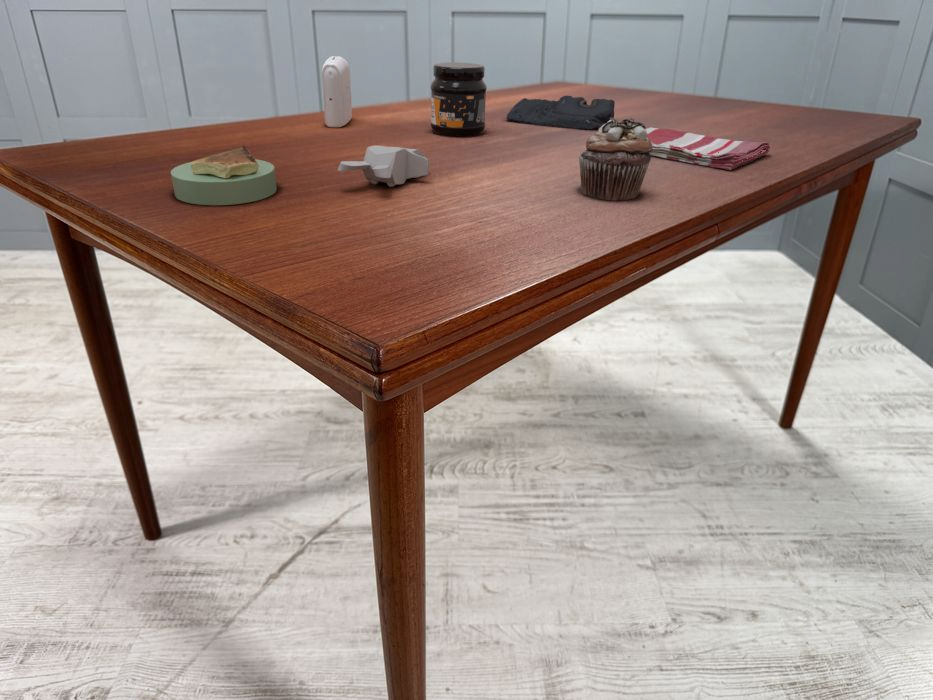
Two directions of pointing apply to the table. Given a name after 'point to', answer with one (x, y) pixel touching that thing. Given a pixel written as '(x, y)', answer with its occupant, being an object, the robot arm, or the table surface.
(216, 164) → the shard
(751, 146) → the dish towel
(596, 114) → the dark slate chunk
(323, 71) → the photo printer
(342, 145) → the table surface
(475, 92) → the supplement container
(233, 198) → the disc
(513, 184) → the table surface
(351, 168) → the grey faceted piece
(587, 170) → the cupcake
